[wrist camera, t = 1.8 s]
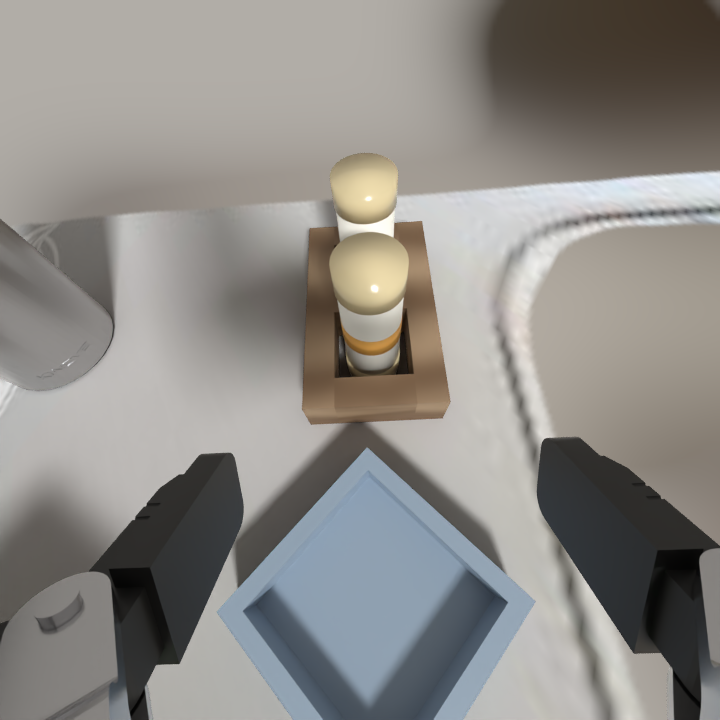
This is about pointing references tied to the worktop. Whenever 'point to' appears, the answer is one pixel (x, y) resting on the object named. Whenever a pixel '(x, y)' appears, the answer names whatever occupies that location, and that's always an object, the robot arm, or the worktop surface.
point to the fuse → (364, 194)
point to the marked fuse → (370, 300)
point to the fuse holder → (372, 393)
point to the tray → (375, 607)
